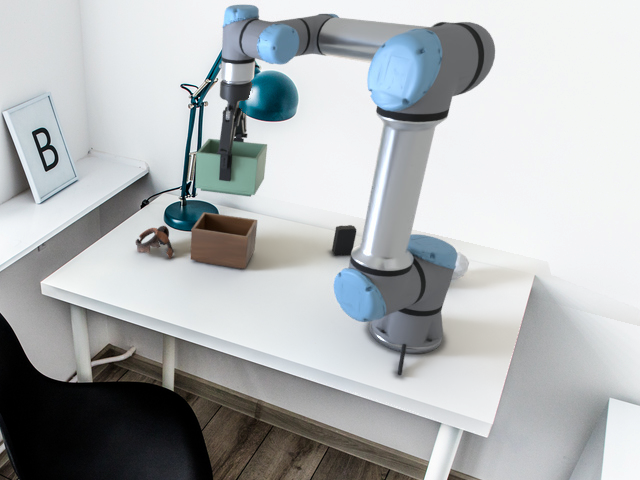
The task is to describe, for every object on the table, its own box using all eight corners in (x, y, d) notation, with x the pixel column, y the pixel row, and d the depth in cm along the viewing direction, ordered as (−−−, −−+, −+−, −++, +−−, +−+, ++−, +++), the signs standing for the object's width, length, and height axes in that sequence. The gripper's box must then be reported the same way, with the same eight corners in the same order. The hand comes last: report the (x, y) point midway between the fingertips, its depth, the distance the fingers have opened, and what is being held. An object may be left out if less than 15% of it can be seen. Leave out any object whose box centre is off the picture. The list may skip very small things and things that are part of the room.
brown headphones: (169, 265, 176) (154, 243, 172) (142, 272, 182) (127, 250, 178) (183, 237, 183) (169, 214, 178) (157, 243, 189) (142, 222, 184)
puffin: (442, 250, 169) (418, 273, 163) (467, 244, 163) (443, 268, 157) (453, 272, 170) (430, 295, 165) (478, 267, 164) (455, 291, 159)
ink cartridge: (349, 251, 179) (354, 224, 174) (351, 255, 177) (357, 228, 173) (331, 252, 179) (336, 225, 174) (333, 255, 177) (338, 229, 173)
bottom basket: (244, 271, 171) (248, 237, 166) (190, 262, 176) (191, 229, 170) (254, 253, 180) (257, 219, 174) (201, 244, 184) (203, 212, 178)
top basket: (254, 199, 159) (257, 159, 153) (195, 191, 164) (196, 152, 158) (263, 182, 167) (267, 144, 161) (207, 176, 172) (208, 138, 166)
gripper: (233, 67, 160) (228, 154, 173) (207, 92, 143) (203, 187, 155) (263, 69, 158) (255, 157, 171) (240, 94, 140) (233, 191, 153)
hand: (230, 171), depth 163 cm, fingers closed on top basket, 11 cm apart
